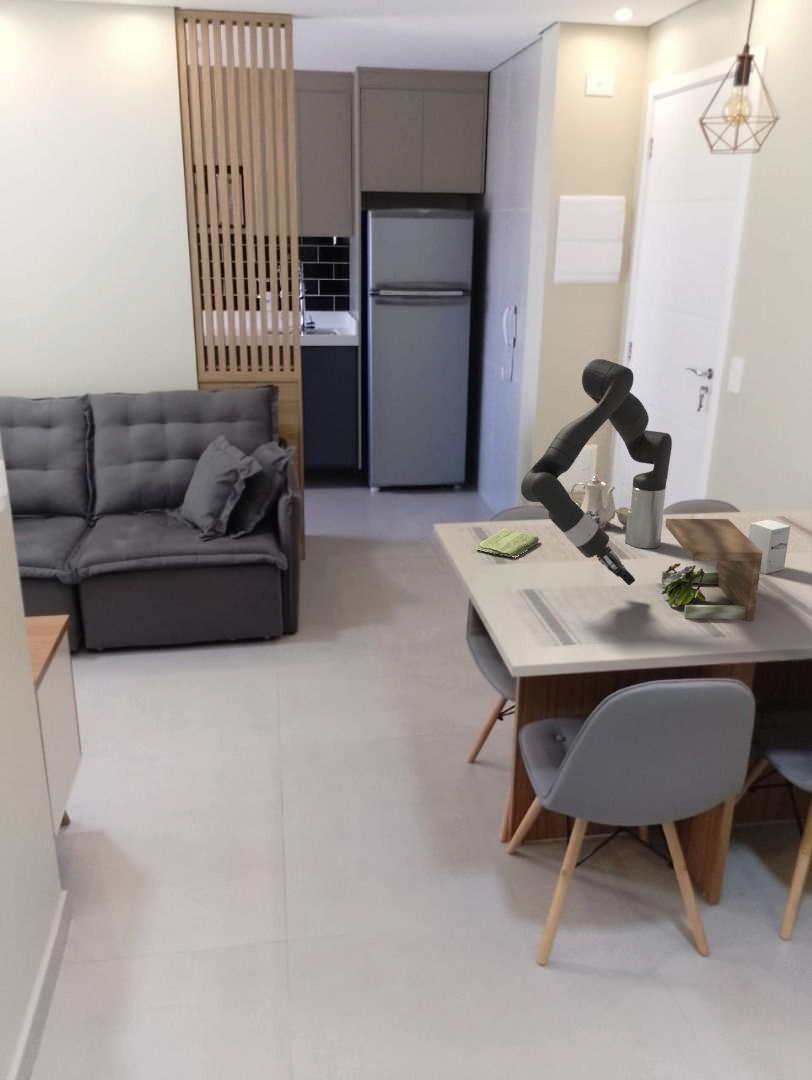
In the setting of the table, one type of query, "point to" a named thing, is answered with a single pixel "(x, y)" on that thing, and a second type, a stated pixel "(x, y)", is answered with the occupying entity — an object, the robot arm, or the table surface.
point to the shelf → (720, 565)
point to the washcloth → (508, 543)
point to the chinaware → (599, 503)
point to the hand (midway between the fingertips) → (631, 581)
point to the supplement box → (770, 543)
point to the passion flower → (676, 582)
